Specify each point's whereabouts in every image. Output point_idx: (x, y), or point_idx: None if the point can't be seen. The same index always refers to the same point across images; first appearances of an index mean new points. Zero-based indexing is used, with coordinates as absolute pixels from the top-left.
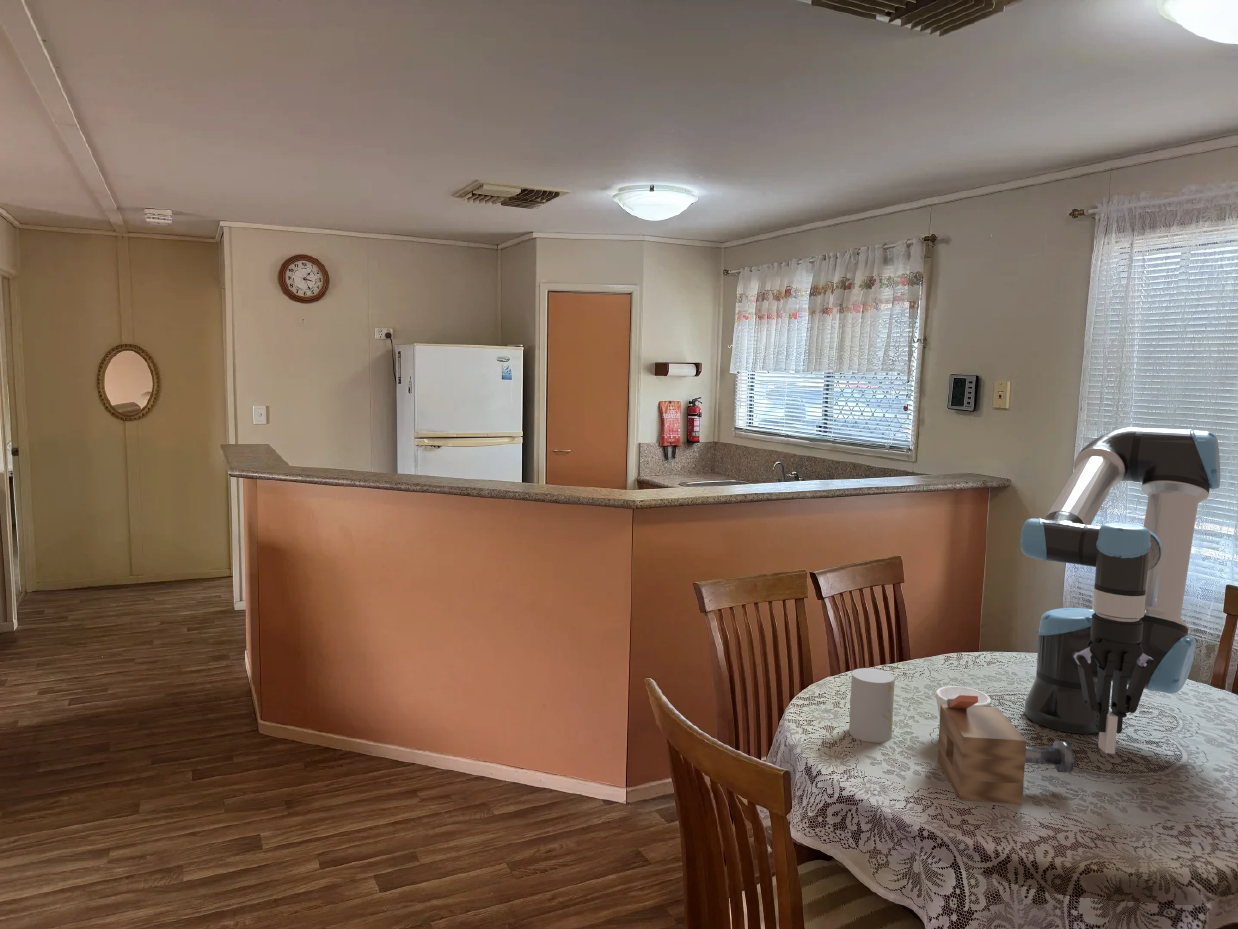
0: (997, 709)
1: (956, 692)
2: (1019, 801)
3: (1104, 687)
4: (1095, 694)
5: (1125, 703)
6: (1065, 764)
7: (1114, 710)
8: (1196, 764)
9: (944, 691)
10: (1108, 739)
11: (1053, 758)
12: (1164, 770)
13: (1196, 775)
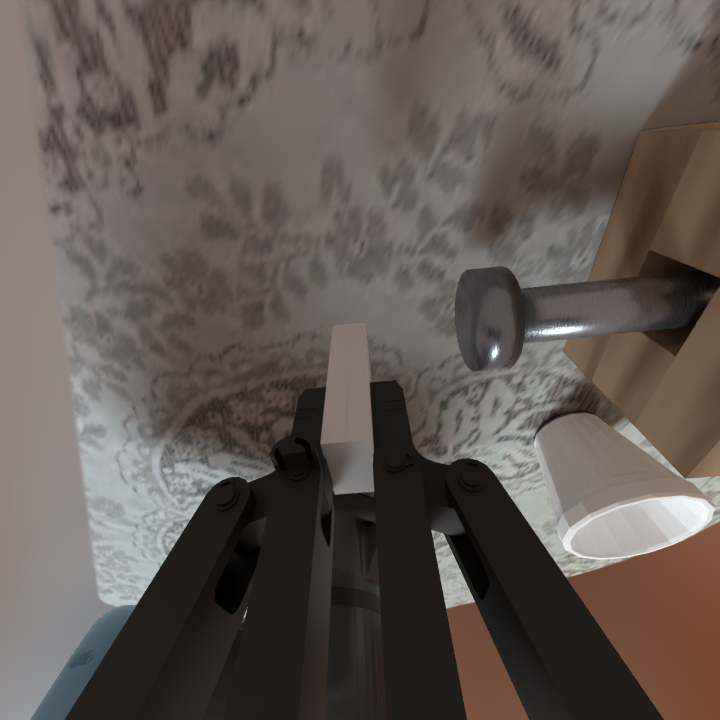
0: (702, 467)
1: (606, 542)
2: (655, 129)
3: (451, 695)
4: (505, 589)
5: (264, 536)
6: (504, 268)
7: (327, 487)
8: (135, 441)
9: (644, 540)
10: (359, 355)
11: (534, 292)
12: (195, 408)
13: (134, 403)
